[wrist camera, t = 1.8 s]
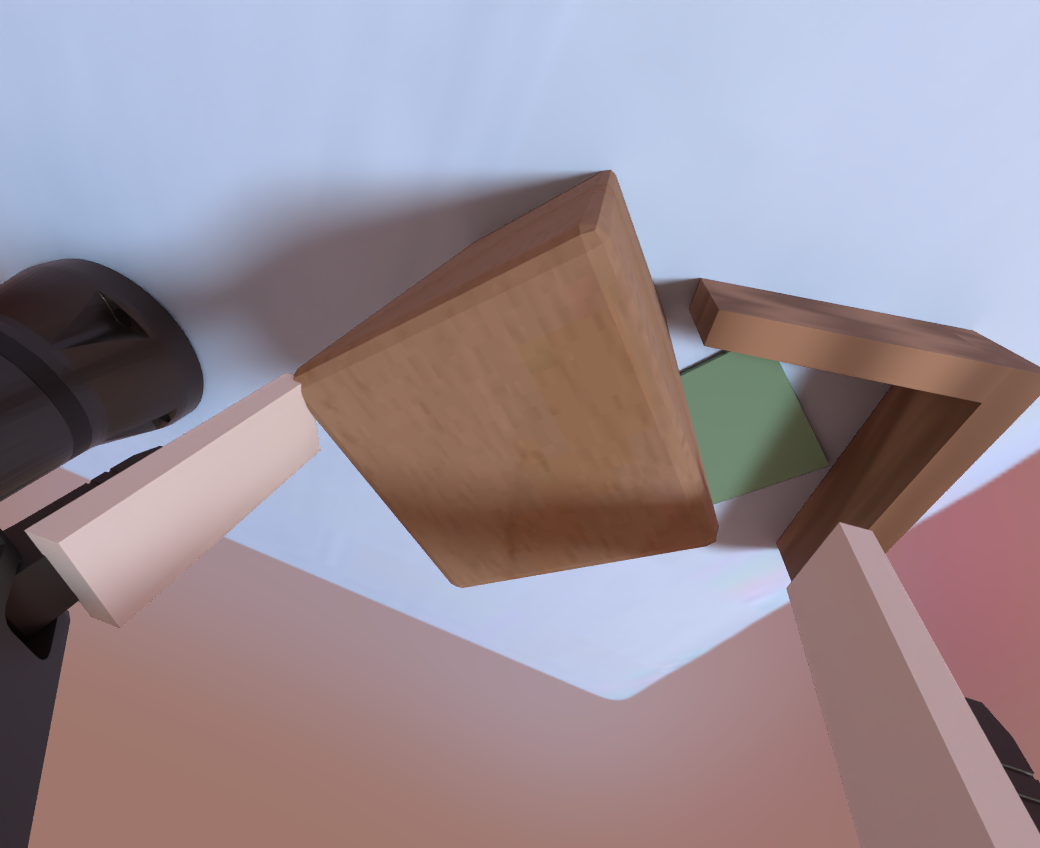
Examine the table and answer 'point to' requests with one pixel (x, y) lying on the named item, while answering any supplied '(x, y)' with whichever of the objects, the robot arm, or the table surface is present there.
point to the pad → (748, 425)
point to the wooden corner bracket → (898, 417)
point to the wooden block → (524, 401)
